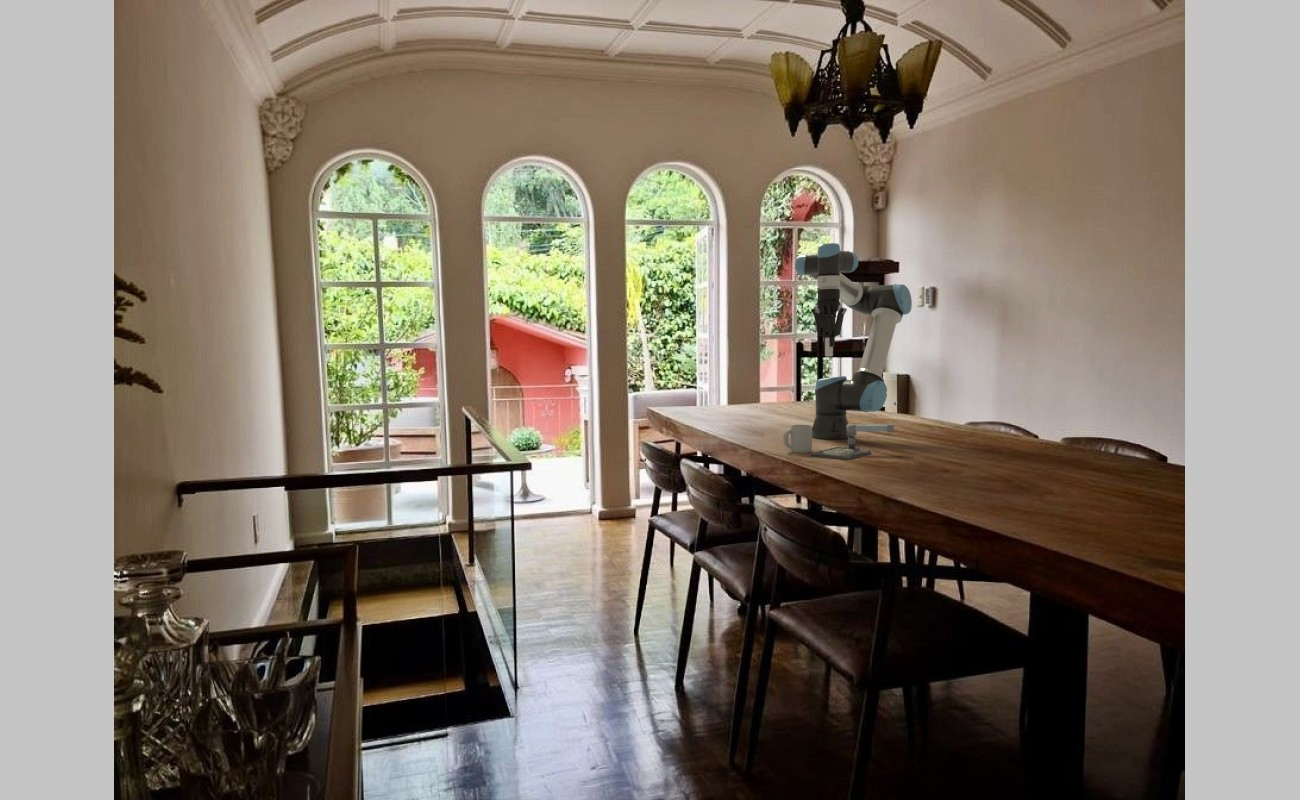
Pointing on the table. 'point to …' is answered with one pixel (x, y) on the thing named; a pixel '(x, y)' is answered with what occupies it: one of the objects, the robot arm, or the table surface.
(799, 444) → the cup
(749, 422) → the table surface
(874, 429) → the cable arm
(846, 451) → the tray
